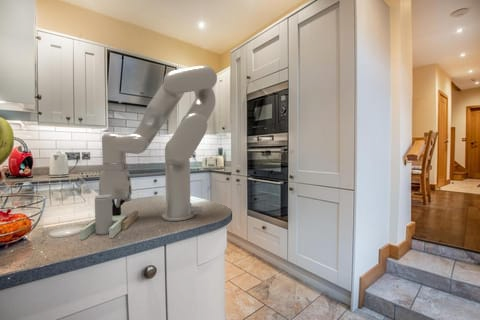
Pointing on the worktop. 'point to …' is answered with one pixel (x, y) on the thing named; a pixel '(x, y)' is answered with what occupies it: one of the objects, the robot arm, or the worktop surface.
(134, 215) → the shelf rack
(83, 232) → the sliding holder
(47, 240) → the worktop surface
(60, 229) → the ceramic coaster
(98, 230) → the beverage can
